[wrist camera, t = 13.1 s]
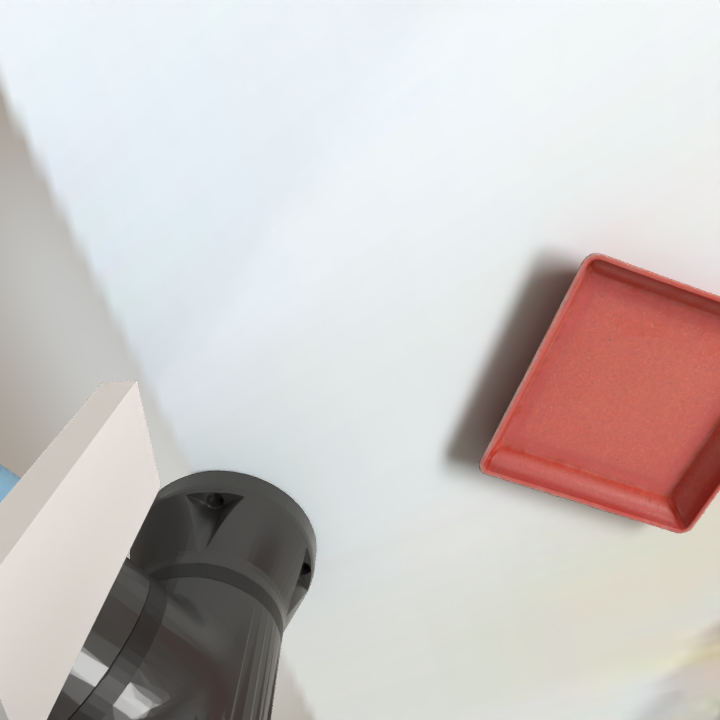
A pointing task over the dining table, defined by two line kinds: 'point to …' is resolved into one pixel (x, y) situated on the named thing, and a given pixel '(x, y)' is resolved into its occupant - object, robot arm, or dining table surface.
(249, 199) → the dining table surface
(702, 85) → the dining table surface
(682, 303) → the plant saucer
